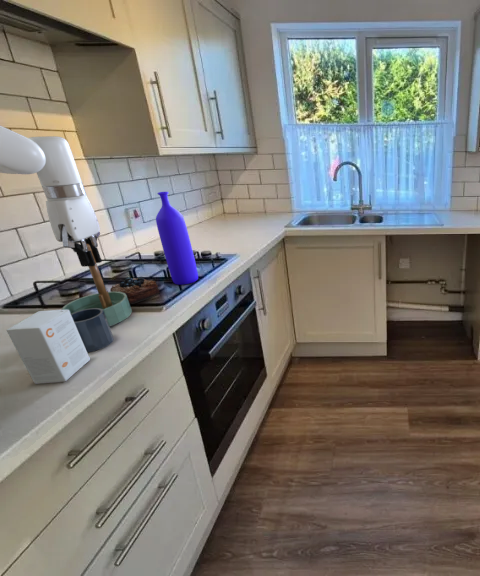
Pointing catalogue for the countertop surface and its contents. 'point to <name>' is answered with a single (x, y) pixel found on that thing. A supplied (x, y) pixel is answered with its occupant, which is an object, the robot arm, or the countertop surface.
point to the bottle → (176, 243)
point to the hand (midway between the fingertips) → (91, 263)
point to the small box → (49, 346)
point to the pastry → (136, 289)
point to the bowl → (112, 313)
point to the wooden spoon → (99, 284)
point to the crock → (93, 328)
